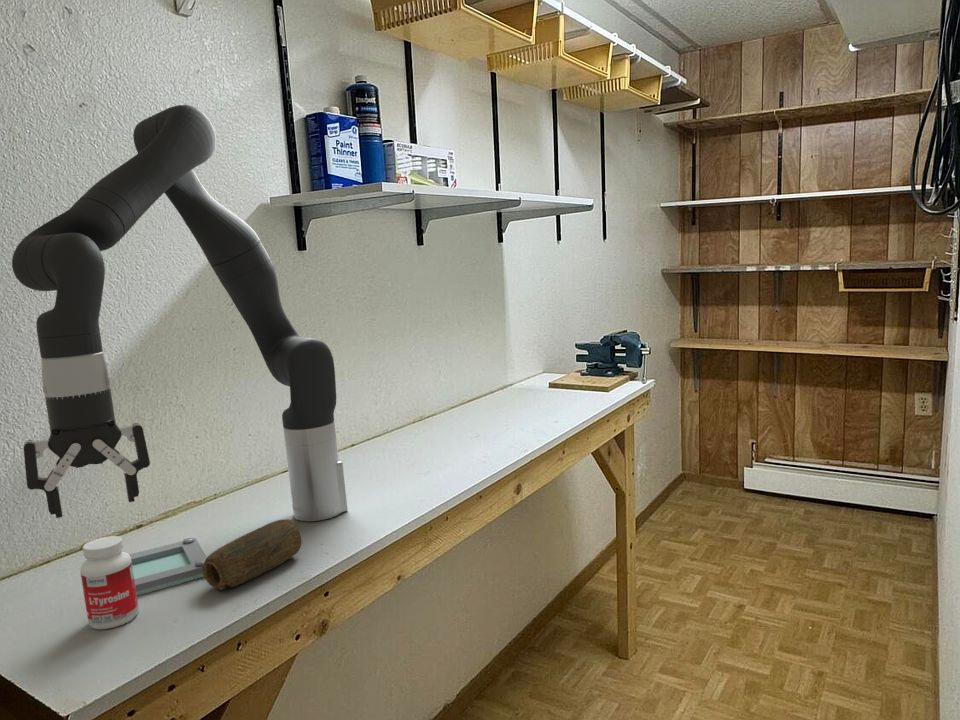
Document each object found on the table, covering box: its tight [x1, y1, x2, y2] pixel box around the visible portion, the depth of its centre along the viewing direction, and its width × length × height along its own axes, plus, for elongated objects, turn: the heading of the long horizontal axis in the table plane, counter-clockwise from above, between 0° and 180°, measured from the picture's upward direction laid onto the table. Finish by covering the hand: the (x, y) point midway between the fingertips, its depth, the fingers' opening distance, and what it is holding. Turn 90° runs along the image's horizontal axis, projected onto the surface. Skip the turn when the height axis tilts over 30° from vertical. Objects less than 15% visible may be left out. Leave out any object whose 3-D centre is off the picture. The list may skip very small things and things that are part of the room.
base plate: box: [128, 537, 208, 597], centre depth 111 cm, size 14×14×2 cm
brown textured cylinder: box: [203, 519, 302, 591], centre depth 108 cm, size 15×7×7 cm, turn 150°
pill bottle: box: [80, 535, 139, 630], centre depth 96 cm, size 6×6×11 cm
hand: (96, 508), depth 94 cm, fingers open, 8 cm apart
